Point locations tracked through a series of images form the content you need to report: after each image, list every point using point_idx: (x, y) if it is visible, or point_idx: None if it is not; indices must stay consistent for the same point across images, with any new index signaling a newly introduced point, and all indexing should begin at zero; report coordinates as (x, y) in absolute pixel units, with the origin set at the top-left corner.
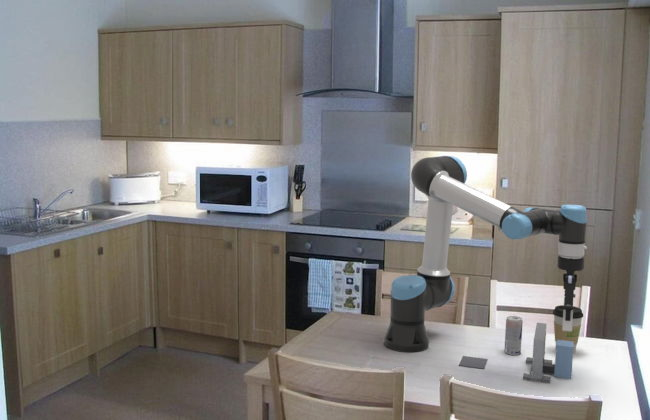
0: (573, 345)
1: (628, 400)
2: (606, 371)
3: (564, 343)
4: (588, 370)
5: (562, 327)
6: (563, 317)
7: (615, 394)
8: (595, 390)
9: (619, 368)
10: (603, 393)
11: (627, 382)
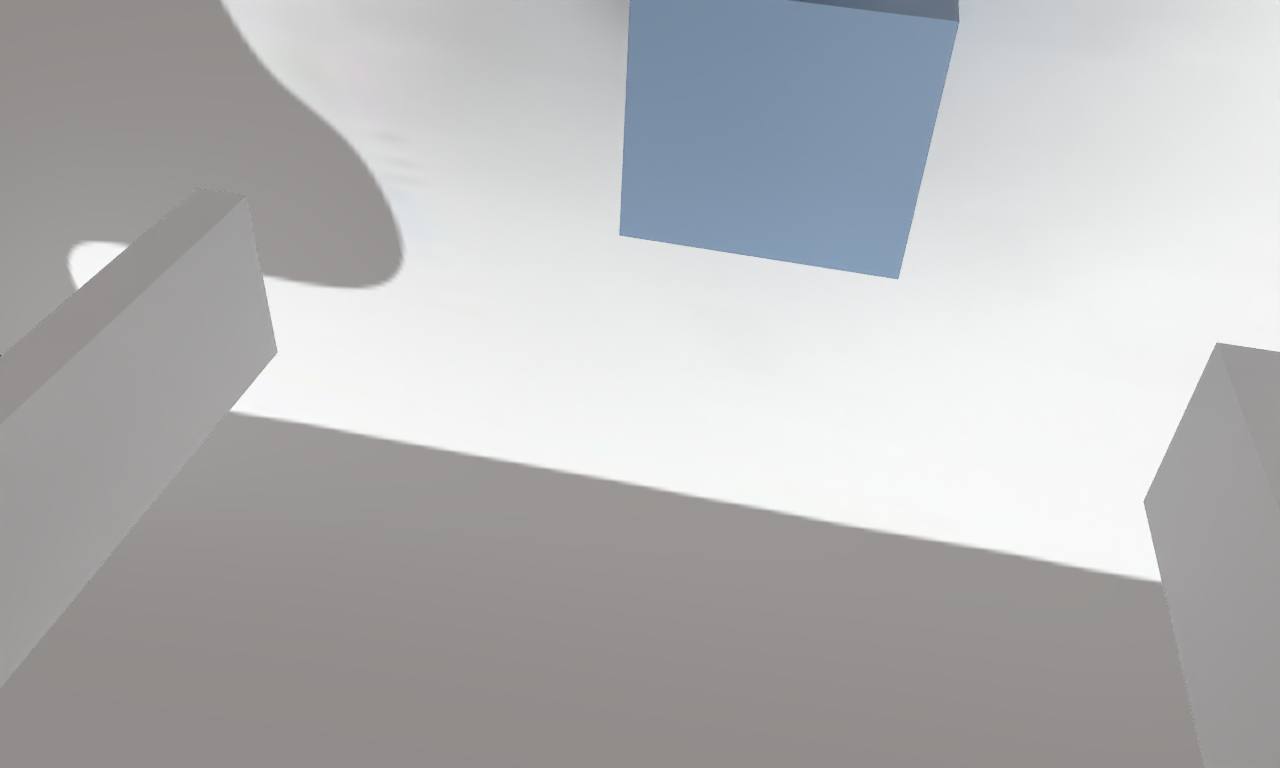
0: (704, 247)
1: (373, 416)
2: (1001, 413)
3: (765, 129)
4: (1006, 263)
5: (165, 219)
6: (14, 359)
7: (450, 361)
8: (469, 231)
9: (1103, 527)
10: (429, 280)
11: (752, 498)
